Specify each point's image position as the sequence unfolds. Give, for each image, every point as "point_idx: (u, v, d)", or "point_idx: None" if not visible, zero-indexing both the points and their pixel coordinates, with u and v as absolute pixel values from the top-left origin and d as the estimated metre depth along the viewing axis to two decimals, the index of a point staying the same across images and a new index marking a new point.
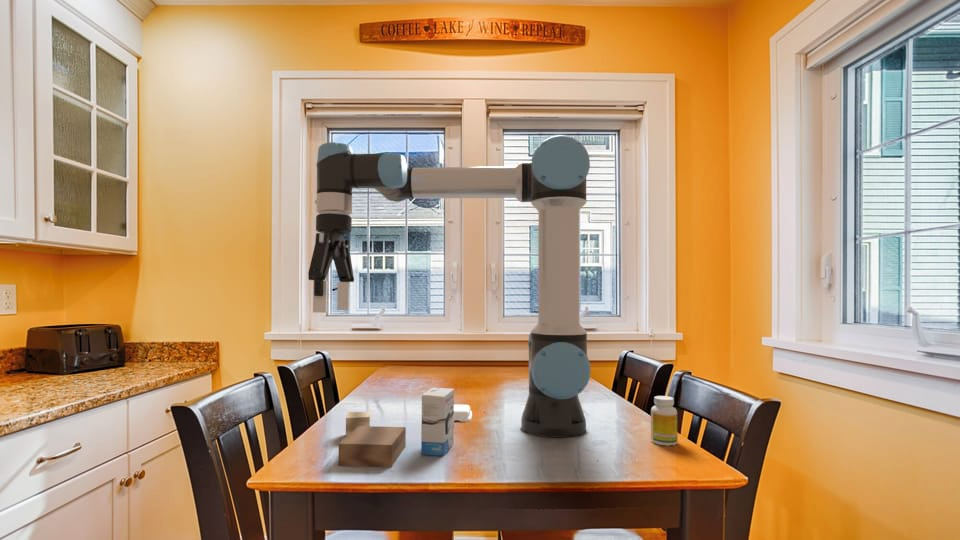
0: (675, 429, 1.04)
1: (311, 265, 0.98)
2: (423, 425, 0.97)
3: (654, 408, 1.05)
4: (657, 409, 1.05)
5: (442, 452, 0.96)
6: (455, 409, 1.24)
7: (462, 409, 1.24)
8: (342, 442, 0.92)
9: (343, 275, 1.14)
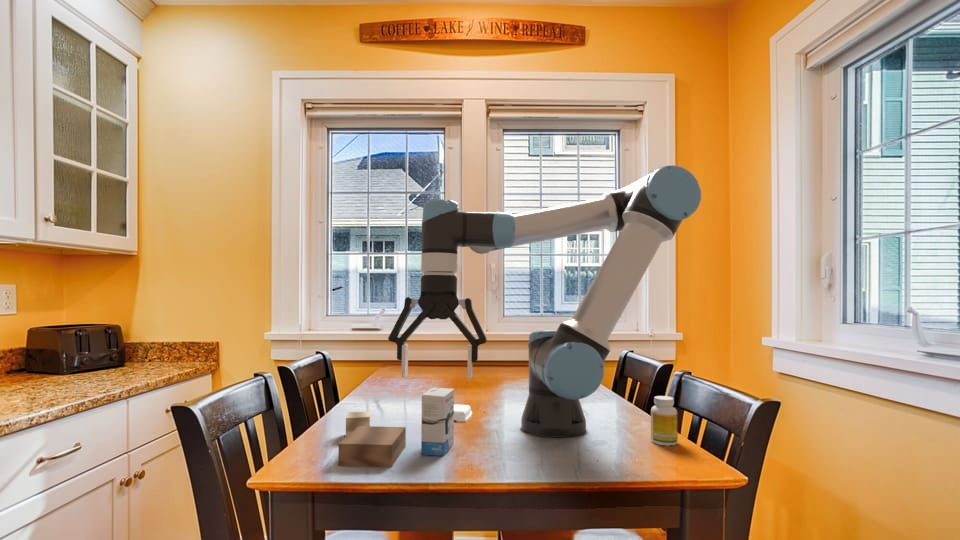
0: (675, 429, 1.04)
1: None
2: (423, 425, 0.97)
3: (654, 408, 1.05)
4: (657, 409, 1.05)
5: (442, 452, 0.96)
6: None
7: (460, 409, 1.24)
8: (342, 442, 0.92)
9: None
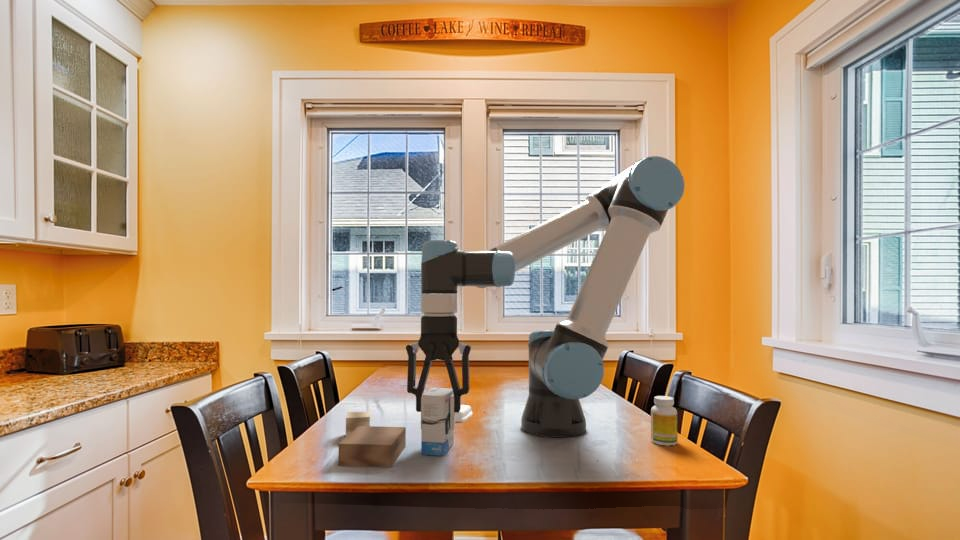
0: (675, 429, 1.04)
1: None
2: (423, 425, 0.97)
3: (654, 408, 1.05)
4: (657, 409, 1.05)
5: (442, 452, 0.96)
6: None
7: None
8: (342, 442, 0.92)
9: None
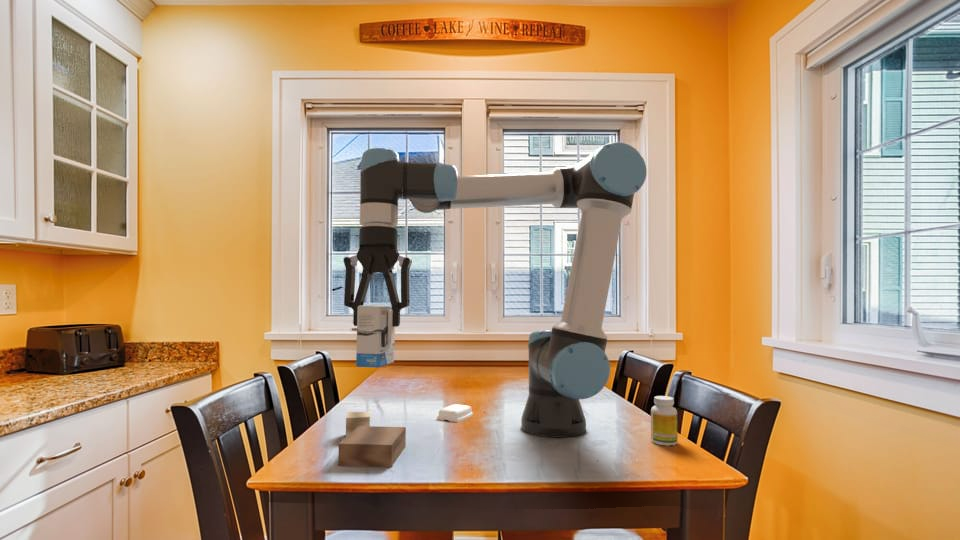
0: (675, 429, 1.04)
1: None
2: (358, 336, 0.94)
3: (654, 408, 1.05)
4: (657, 409, 1.05)
5: (377, 364, 0.93)
6: (448, 408, 1.25)
7: (454, 409, 1.24)
8: (342, 442, 0.92)
9: None
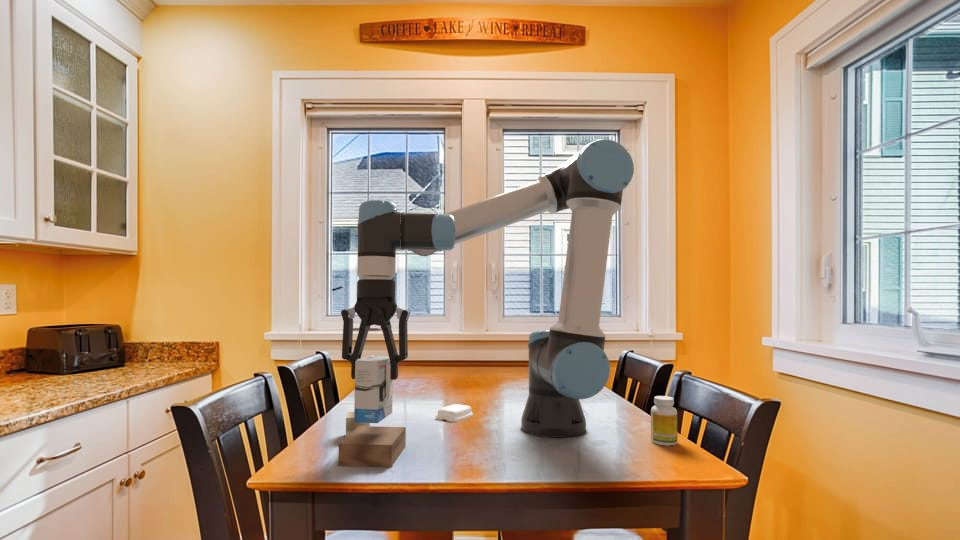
0: (675, 429, 1.04)
1: None
2: (356, 391, 0.93)
3: (654, 408, 1.05)
4: (657, 409, 1.05)
5: (375, 419, 0.92)
6: (447, 408, 1.25)
7: (453, 409, 1.24)
8: (342, 442, 0.92)
9: None
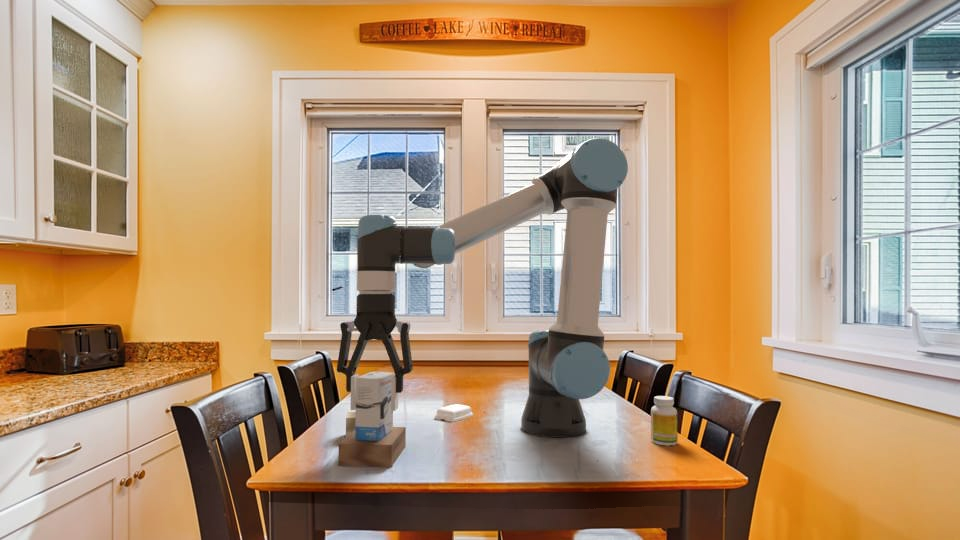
0: (675, 429, 1.04)
1: None
2: (357, 409, 0.93)
3: (654, 408, 1.05)
4: (657, 409, 1.05)
5: (376, 437, 0.92)
6: (446, 408, 1.25)
7: (451, 409, 1.24)
8: (342, 442, 0.92)
9: None
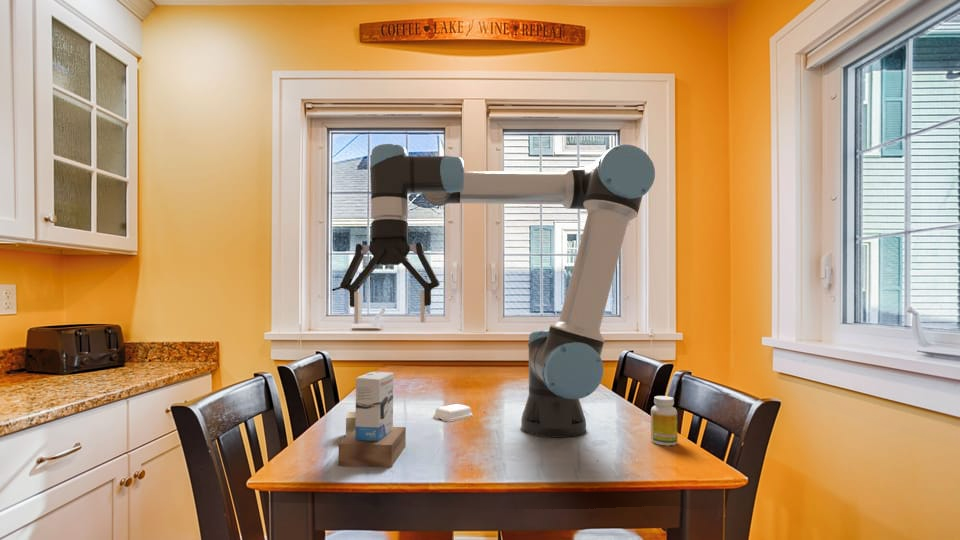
0: (675, 429, 1.04)
1: None
2: (357, 409, 0.93)
3: (654, 408, 1.05)
4: (657, 409, 1.05)
5: (376, 437, 0.92)
6: (444, 407, 1.26)
7: (449, 409, 1.25)
8: (342, 442, 0.92)
9: None
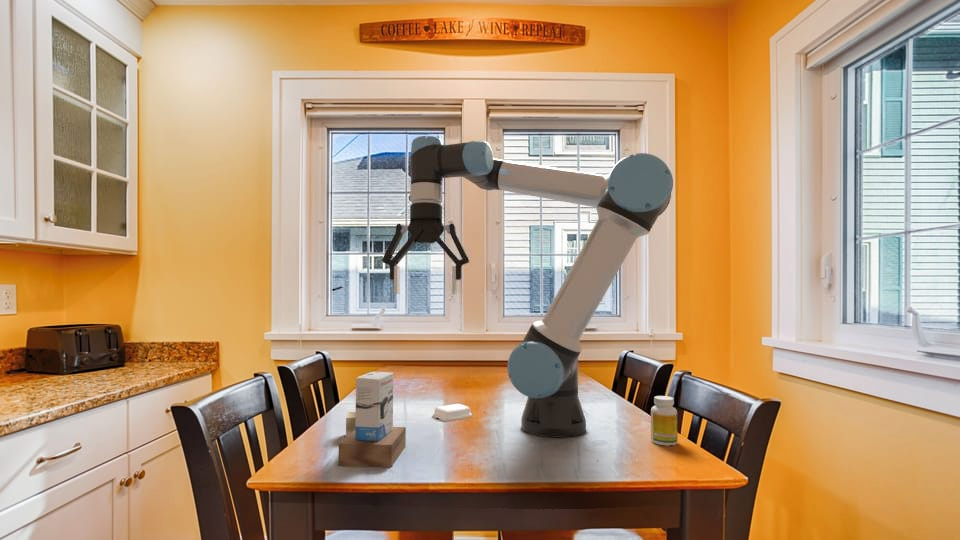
0: (675, 429, 1.04)
1: None
2: (357, 409, 0.93)
3: (654, 408, 1.05)
4: (657, 409, 1.05)
5: (376, 437, 0.92)
6: (443, 407, 1.26)
7: (447, 408, 1.25)
8: (342, 442, 0.92)
9: None
